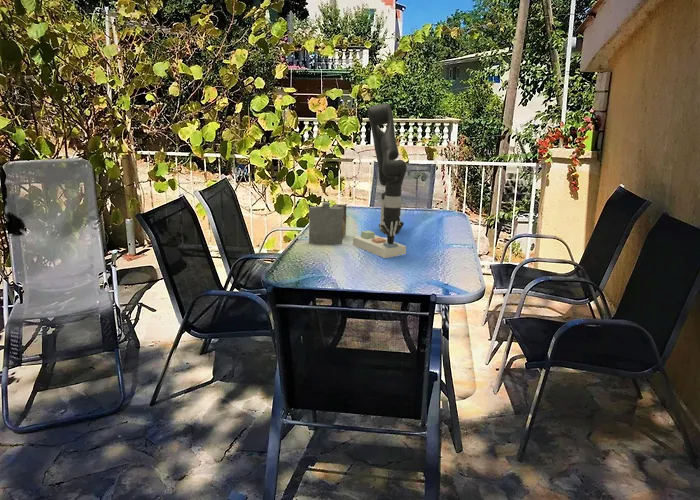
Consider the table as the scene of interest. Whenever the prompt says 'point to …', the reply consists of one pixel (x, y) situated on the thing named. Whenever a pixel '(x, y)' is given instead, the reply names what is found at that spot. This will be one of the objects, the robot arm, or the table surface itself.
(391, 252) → the button panel
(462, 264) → the table surface
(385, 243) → the key slate
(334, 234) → the hip flask
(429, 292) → the table surface
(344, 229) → the coffee box
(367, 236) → the key sage
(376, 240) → the key terracotta
